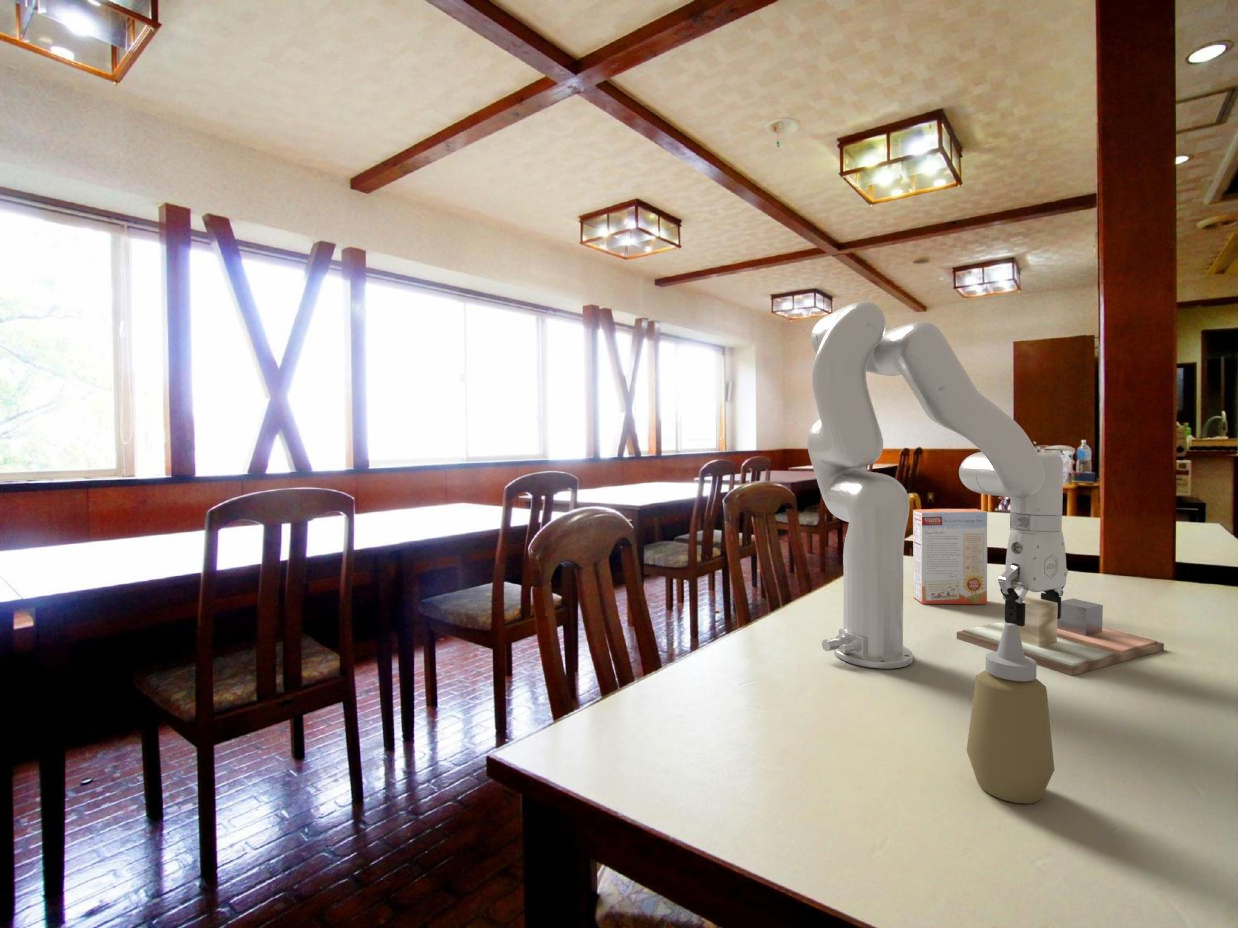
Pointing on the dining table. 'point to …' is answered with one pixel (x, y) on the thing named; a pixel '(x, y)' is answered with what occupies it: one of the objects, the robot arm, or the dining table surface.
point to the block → (1039, 622)
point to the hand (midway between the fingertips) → (1032, 620)
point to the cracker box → (950, 556)
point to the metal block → (1080, 617)
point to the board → (1071, 648)
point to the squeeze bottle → (1010, 725)
